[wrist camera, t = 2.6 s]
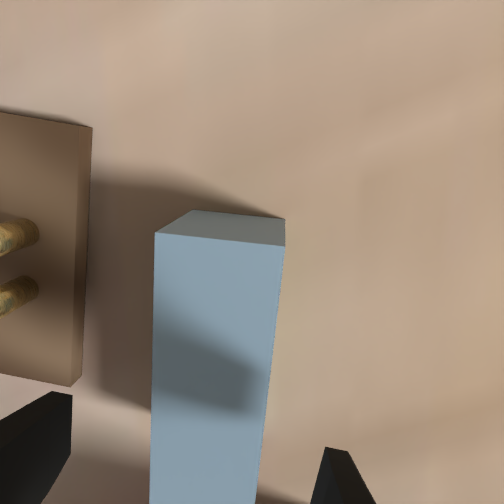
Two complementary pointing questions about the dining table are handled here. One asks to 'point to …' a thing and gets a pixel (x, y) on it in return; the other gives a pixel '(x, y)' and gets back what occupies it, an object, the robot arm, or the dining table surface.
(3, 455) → the robot arm
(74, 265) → the peg stand
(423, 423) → the dining table surface
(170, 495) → the light blue rectangular block
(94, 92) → the dining table surface
